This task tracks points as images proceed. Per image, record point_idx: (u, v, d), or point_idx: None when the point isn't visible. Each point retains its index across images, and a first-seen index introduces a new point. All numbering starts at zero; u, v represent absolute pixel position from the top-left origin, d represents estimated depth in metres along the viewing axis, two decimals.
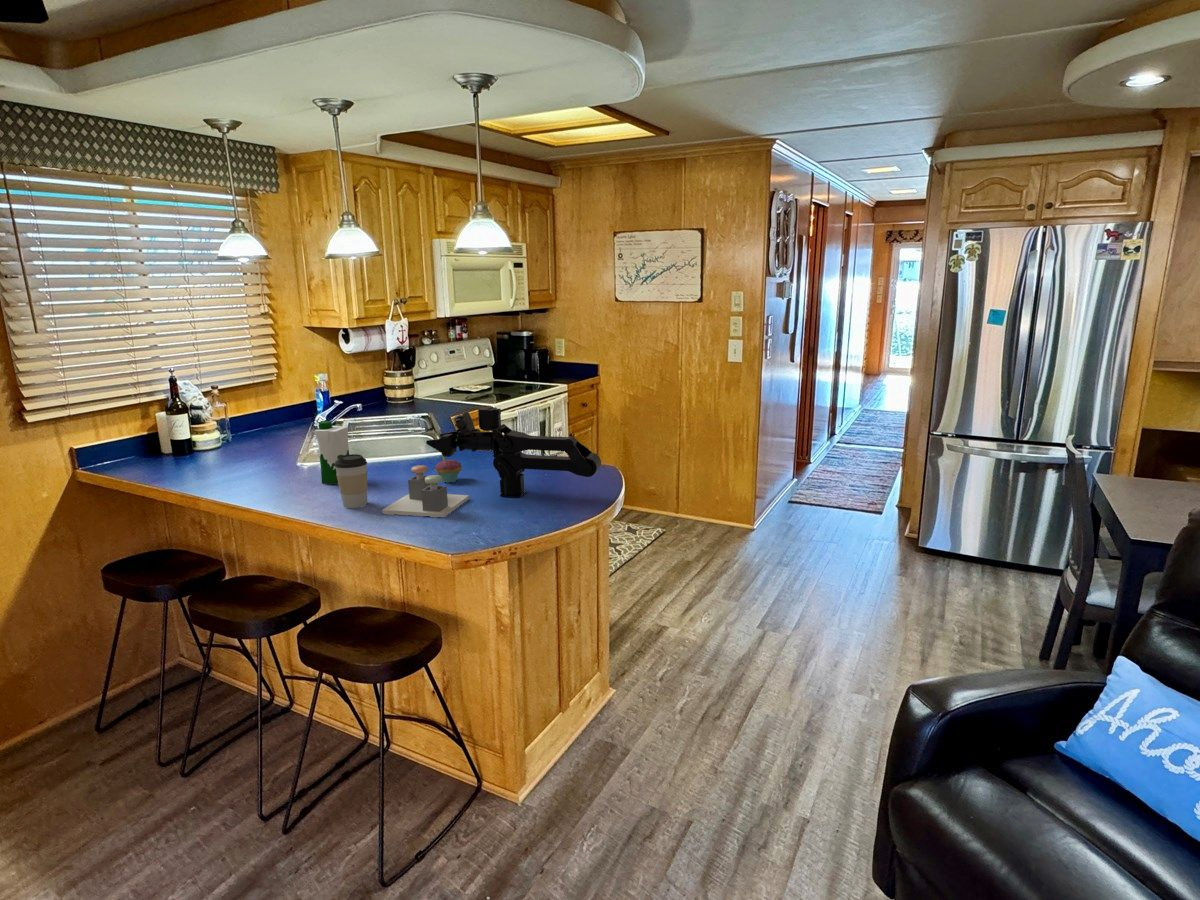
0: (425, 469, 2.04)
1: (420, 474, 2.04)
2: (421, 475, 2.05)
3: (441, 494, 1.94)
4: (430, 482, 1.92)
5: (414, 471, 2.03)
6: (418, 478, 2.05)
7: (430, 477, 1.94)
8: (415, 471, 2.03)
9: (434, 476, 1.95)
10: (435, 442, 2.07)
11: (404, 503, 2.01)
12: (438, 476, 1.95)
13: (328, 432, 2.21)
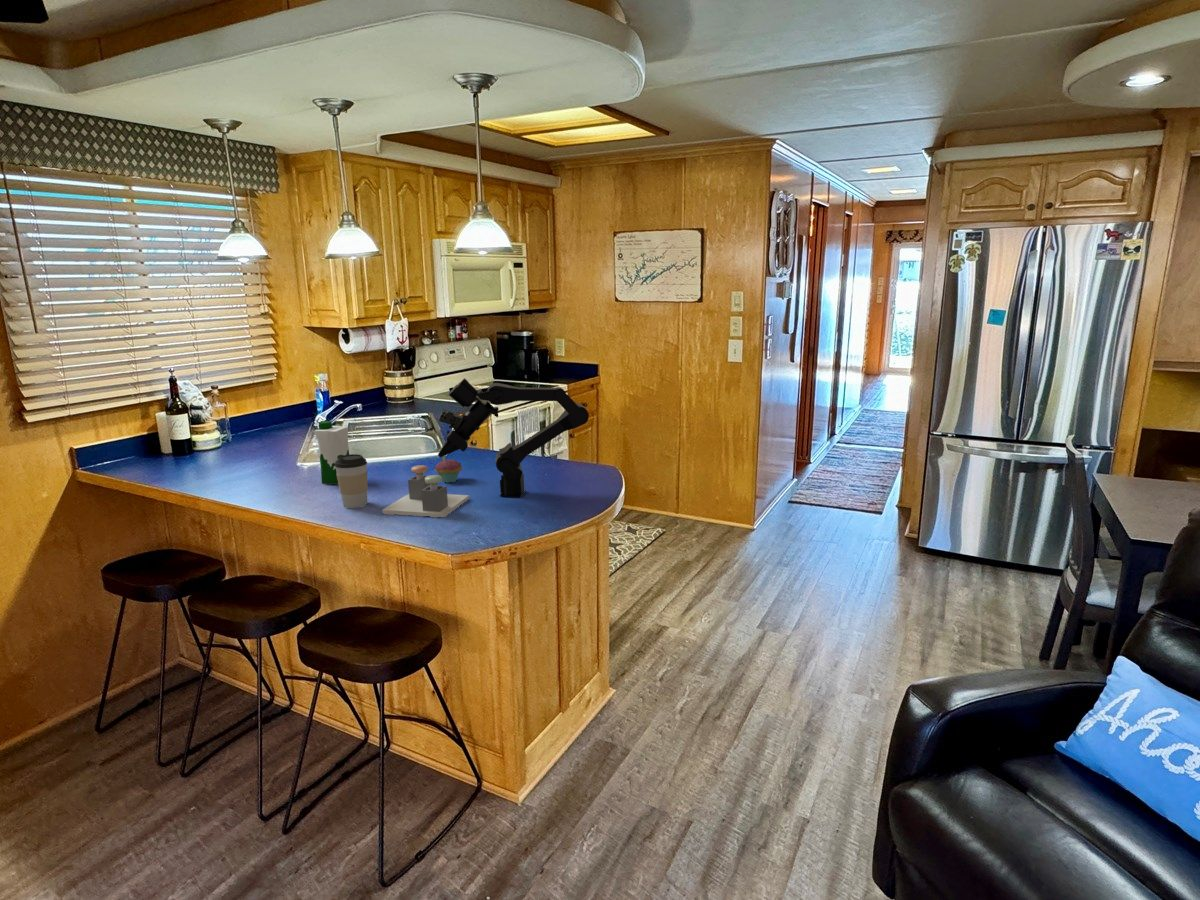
0: (425, 469, 2.04)
1: (420, 474, 2.04)
2: (421, 475, 2.05)
3: (441, 494, 1.94)
4: (430, 482, 1.92)
5: (414, 471, 2.03)
6: (418, 478, 2.05)
7: (430, 477, 1.94)
8: (415, 471, 2.03)
9: (434, 476, 1.95)
10: (446, 447, 2.03)
11: (404, 503, 2.01)
12: (438, 476, 1.95)
13: (328, 432, 2.21)
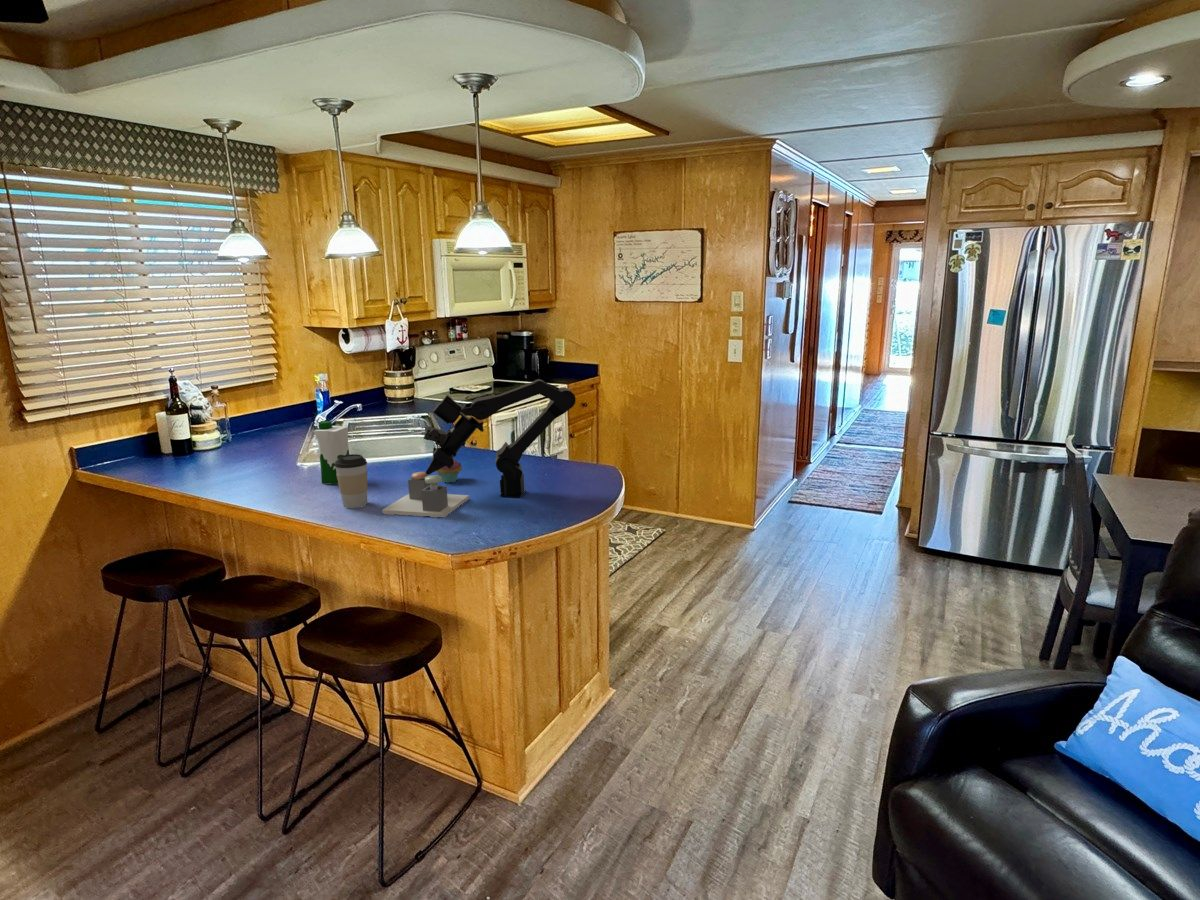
0: (426, 476, 2.04)
1: None
2: None
3: (441, 494, 1.94)
4: (430, 482, 1.92)
5: (415, 478, 2.03)
6: None
7: (430, 477, 1.94)
8: (416, 478, 2.03)
9: (434, 476, 1.95)
10: (433, 464, 2.04)
11: (404, 503, 2.01)
12: (438, 476, 1.95)
13: (328, 432, 2.21)
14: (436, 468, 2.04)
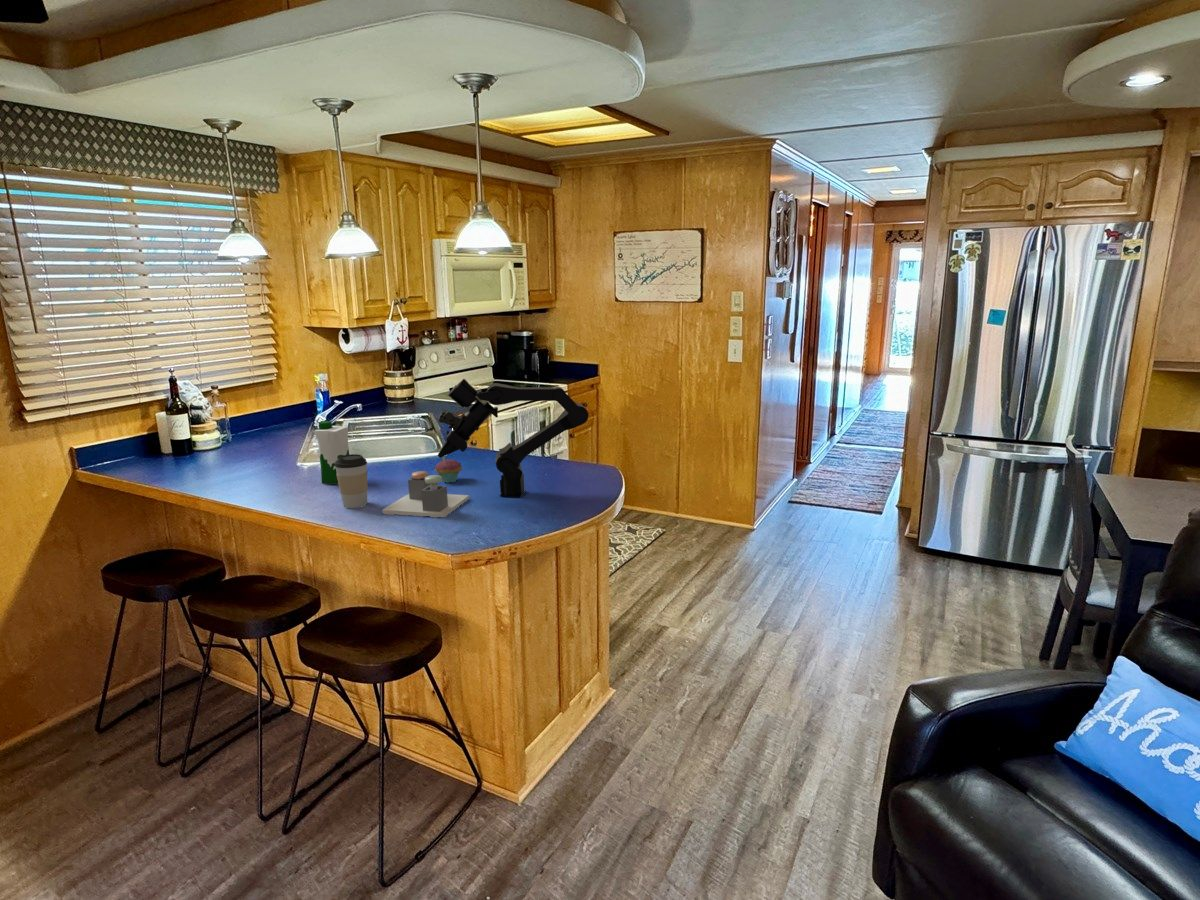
0: (425, 475, 2.04)
1: None
2: None
3: (441, 494, 1.94)
4: (430, 482, 1.92)
5: (415, 477, 2.03)
6: None
7: (430, 477, 1.94)
8: (416, 477, 2.03)
9: (434, 476, 1.95)
10: (445, 448, 2.03)
11: (404, 503, 2.01)
12: (438, 476, 1.95)
13: (328, 432, 2.21)
14: (448, 451, 2.04)
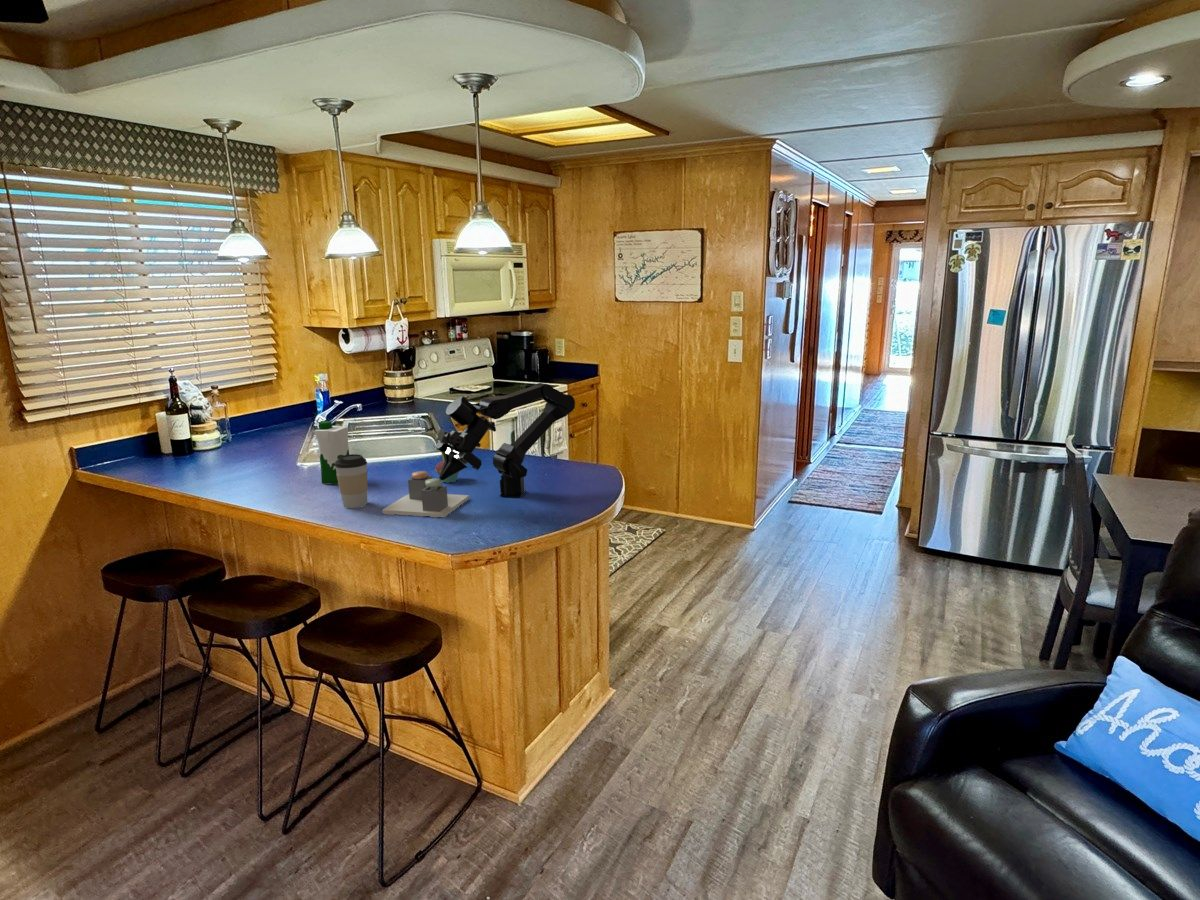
0: (425, 475, 2.04)
1: None
2: None
3: (441, 494, 1.94)
4: (430, 485, 1.92)
5: (415, 477, 2.03)
6: None
7: (430, 480, 1.94)
8: (416, 477, 2.03)
9: (434, 479, 1.95)
10: (449, 469, 1.95)
11: (404, 503, 2.01)
12: (438, 479, 1.95)
13: (328, 432, 2.21)
14: (452, 472, 1.96)
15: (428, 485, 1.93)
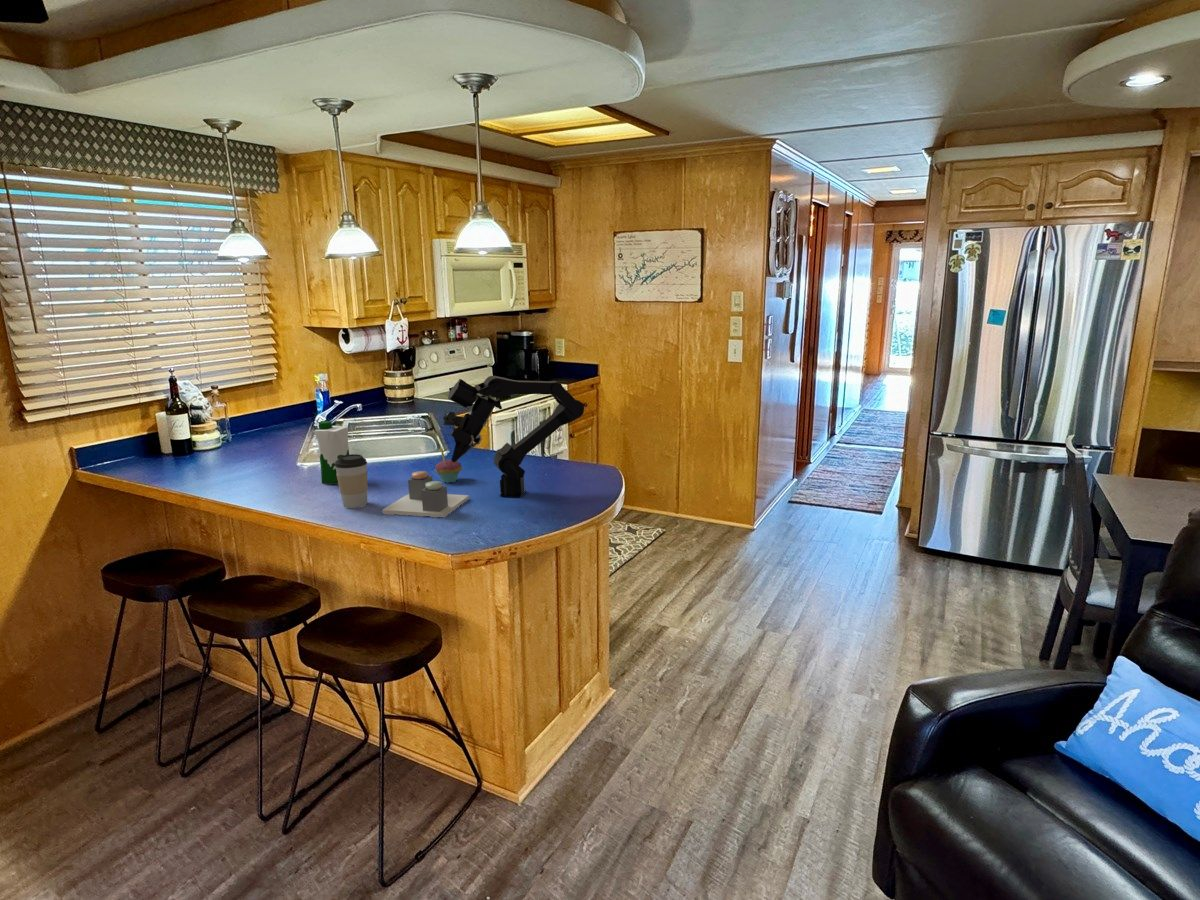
0: (425, 475, 2.04)
1: None
2: None
3: (441, 494, 1.94)
4: (430, 488, 1.93)
5: (415, 477, 2.03)
6: None
7: (430, 483, 1.95)
8: (416, 477, 2.03)
9: (434, 482, 1.95)
10: (456, 450, 2.01)
11: (404, 503, 2.01)
12: (438, 482, 1.95)
13: (328, 432, 2.21)
14: (460, 453, 2.01)
15: (428, 488, 1.93)
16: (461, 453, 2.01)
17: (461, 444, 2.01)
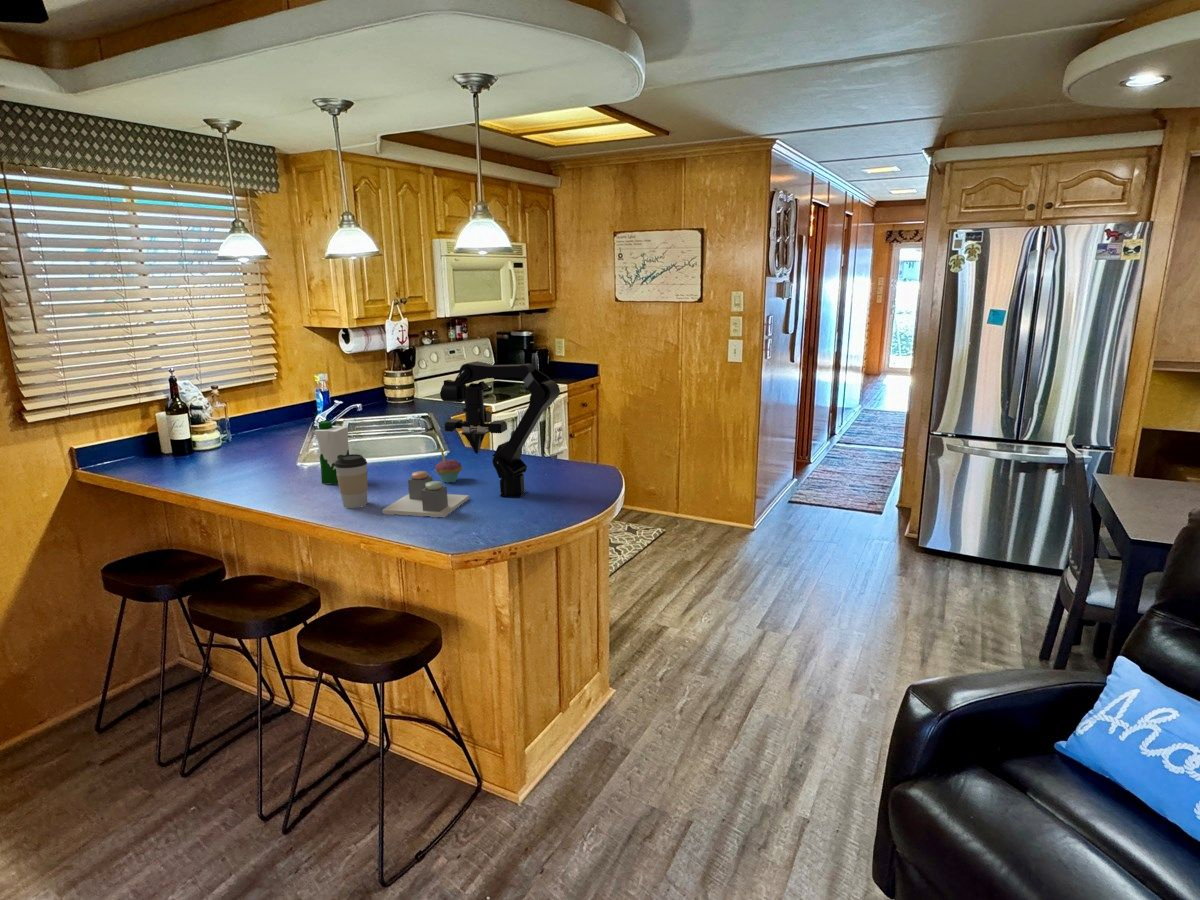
0: (425, 475, 2.04)
1: None
2: None
3: (441, 494, 1.94)
4: (430, 488, 1.93)
5: (415, 477, 2.03)
6: None
7: (430, 483, 1.95)
8: (416, 477, 2.03)
9: (434, 482, 1.95)
10: None
11: (404, 503, 2.01)
12: (438, 482, 1.95)
13: (328, 432, 2.21)
14: None
15: (428, 488, 1.93)
16: None
17: None
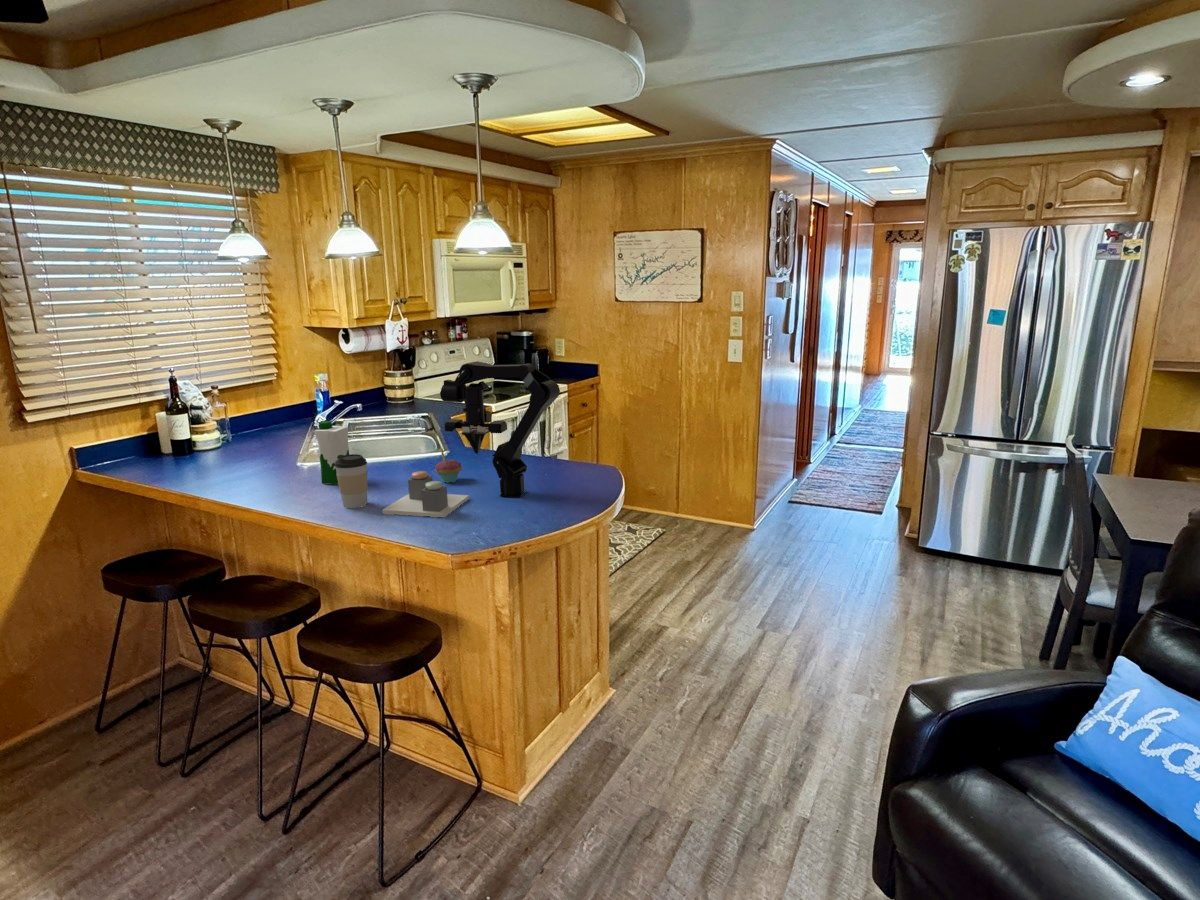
0: (425, 475, 2.04)
1: None
2: None
3: (441, 494, 1.94)
4: (430, 488, 1.93)
5: (415, 477, 2.03)
6: None
7: (430, 483, 1.95)
8: (416, 477, 2.03)
9: (434, 482, 1.95)
10: None
11: (404, 503, 2.01)
12: (438, 482, 1.95)
13: (328, 432, 2.21)
14: None
15: (428, 488, 1.93)
16: None
17: None
